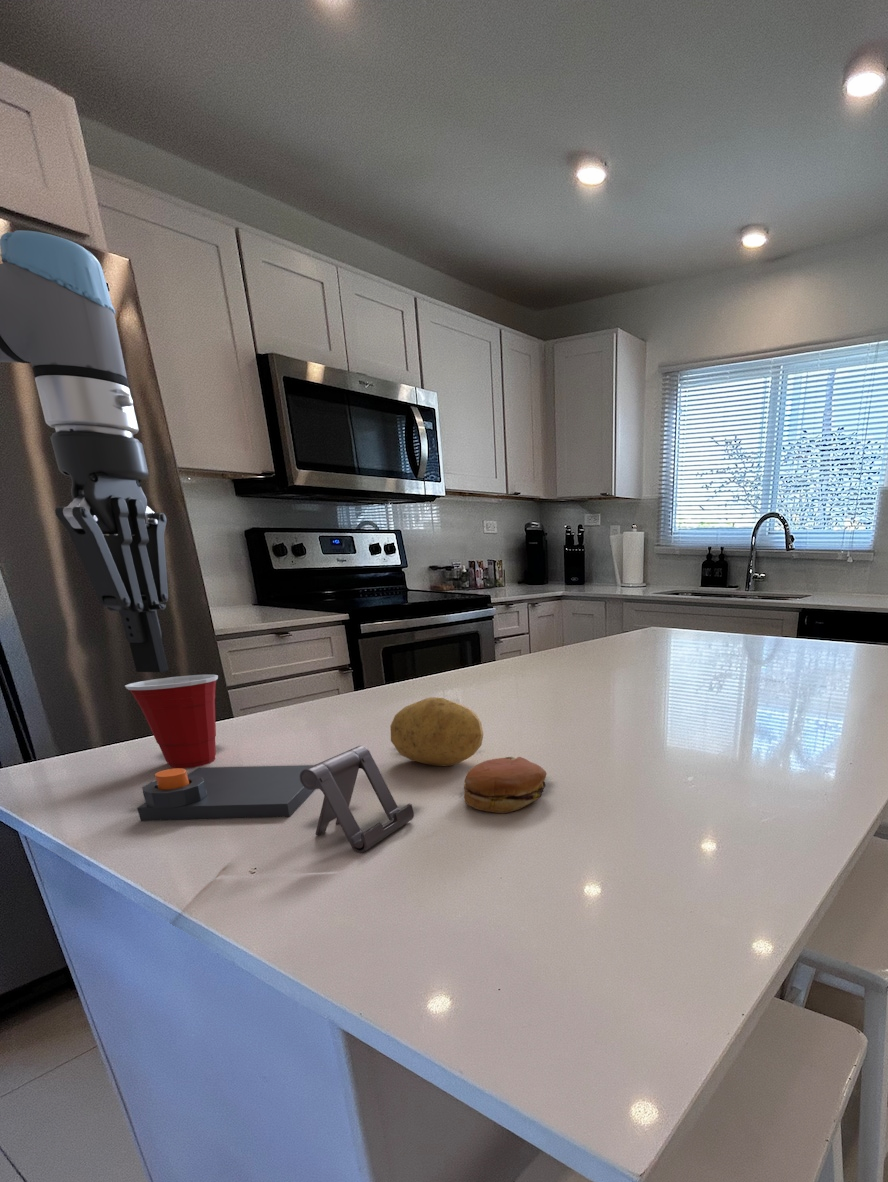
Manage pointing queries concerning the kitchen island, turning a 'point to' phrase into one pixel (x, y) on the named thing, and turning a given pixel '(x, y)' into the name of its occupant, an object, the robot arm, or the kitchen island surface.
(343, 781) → the tablet stand
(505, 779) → the burger
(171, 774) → the button
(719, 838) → the kitchen island surface
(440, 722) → the potato
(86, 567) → the robot arm
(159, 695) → the plastic cup
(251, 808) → the scale
